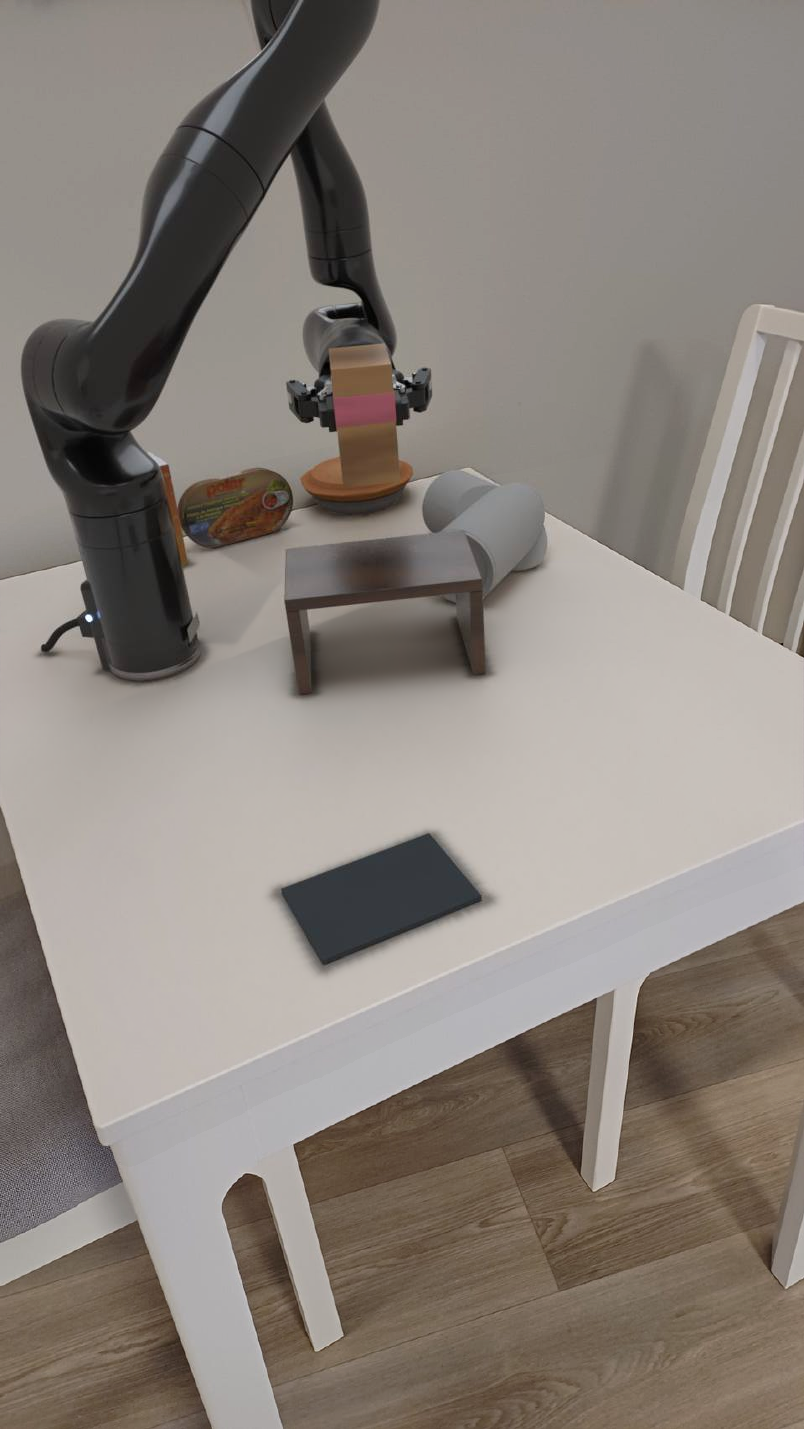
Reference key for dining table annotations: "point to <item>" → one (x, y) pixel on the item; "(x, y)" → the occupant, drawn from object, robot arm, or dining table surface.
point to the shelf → (383, 585)
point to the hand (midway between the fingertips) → (365, 417)
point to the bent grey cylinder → (489, 522)
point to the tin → (235, 507)
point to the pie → (351, 489)
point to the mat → (378, 897)
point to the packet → (365, 414)
